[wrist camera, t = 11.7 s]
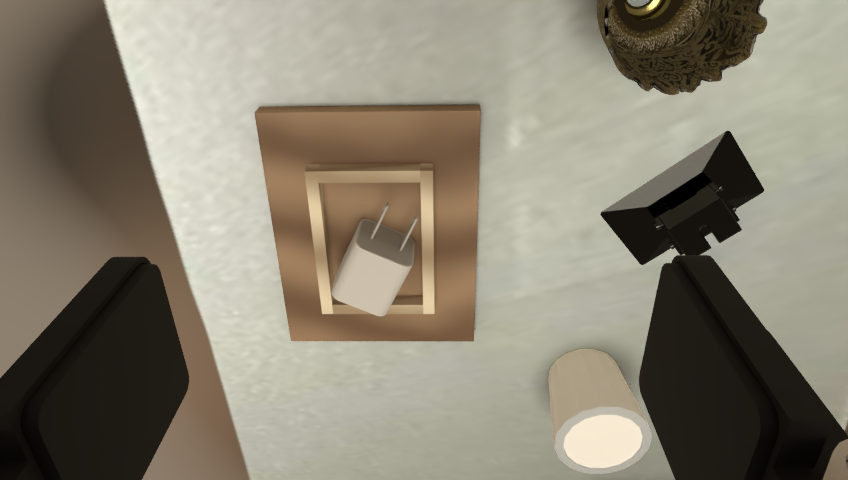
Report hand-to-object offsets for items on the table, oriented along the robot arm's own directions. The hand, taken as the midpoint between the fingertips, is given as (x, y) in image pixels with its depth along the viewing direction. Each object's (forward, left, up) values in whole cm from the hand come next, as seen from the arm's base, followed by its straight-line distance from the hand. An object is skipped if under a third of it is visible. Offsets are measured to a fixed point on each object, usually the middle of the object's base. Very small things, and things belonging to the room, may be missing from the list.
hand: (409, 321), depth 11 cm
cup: (-2, +12, -28) cm, 31 cm away
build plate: (+11, +17, -29) cm, 36 cm away
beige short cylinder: (+27, +12, -28) cm, 41 cm away
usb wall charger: (+13, -3, -27) cm, 31 cm away
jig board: (+14, -4, -28) cm, 32 cm away
